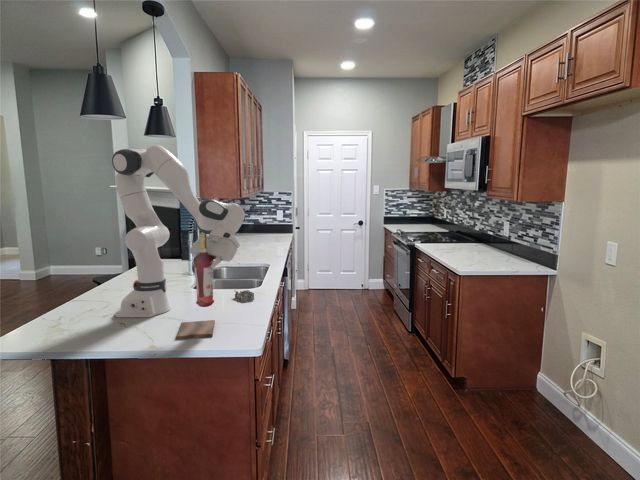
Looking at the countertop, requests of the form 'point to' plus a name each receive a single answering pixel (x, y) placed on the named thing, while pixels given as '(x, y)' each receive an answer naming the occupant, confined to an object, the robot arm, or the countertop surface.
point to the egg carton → (246, 294)
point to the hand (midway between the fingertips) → (202, 266)
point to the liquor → (204, 275)
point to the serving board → (195, 329)
